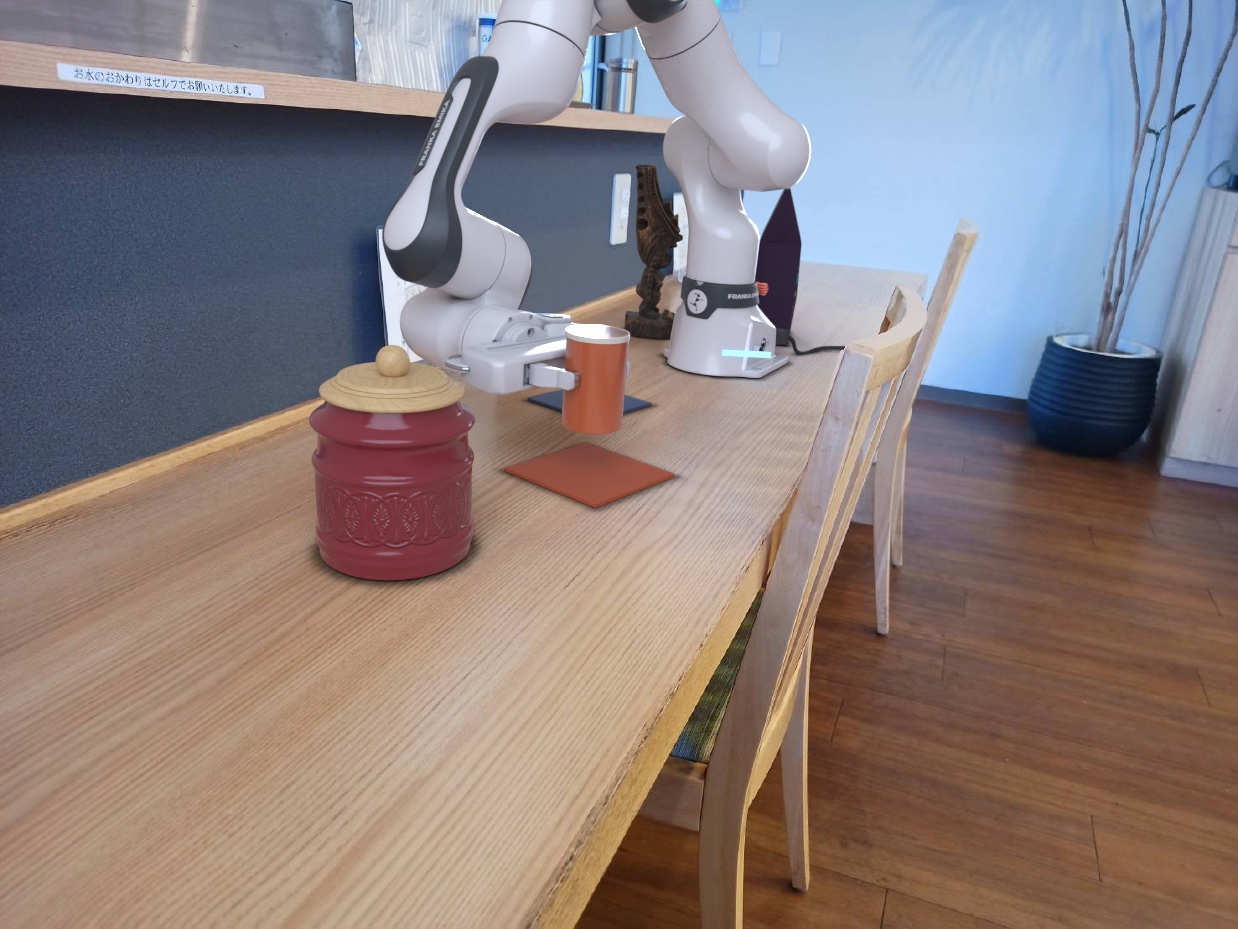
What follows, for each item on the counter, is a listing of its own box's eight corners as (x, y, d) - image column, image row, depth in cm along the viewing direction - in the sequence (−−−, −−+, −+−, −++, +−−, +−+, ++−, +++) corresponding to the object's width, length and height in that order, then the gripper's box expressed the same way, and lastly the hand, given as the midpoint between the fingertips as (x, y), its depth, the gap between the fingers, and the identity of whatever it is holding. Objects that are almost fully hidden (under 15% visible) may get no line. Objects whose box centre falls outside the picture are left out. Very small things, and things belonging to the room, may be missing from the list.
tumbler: (589, 411, 97) (595, 321, 94) (635, 426, 93) (643, 333, 90) (547, 422, 92) (552, 328, 89) (594, 439, 89) (601, 341, 85)
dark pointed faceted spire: (789, 330, 178) (809, 185, 168) (789, 347, 163) (812, 189, 153) (749, 326, 179) (766, 182, 169) (745, 342, 164) (764, 185, 154)
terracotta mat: (586, 445, 104) (586, 442, 103) (674, 477, 96) (674, 473, 96) (504, 471, 94) (504, 467, 94) (595, 508, 86) (595, 504, 86)
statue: (674, 341, 161) (689, 168, 150) (618, 335, 163) (629, 164, 152) (681, 330, 170) (696, 167, 160) (628, 325, 172) (640, 163, 162)
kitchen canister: (345, 512, 82) (337, 323, 75) (485, 522, 81) (488, 334, 75) (292, 577, 69) (277, 358, 63) (456, 590, 69) (457, 372, 63)
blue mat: (586, 386, 128) (586, 383, 128) (651, 405, 121) (651, 402, 121) (527, 400, 119) (527, 397, 119) (593, 422, 112) (593, 419, 112)
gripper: (435, 331, 90) (530, 359, 82) (572, 312, 105) (664, 334, 97) (435, 391, 92) (528, 424, 84) (569, 364, 107) (658, 389, 99)
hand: (602, 375), depth 91 cm, fingers closed on tumbler, 6 cm apart
